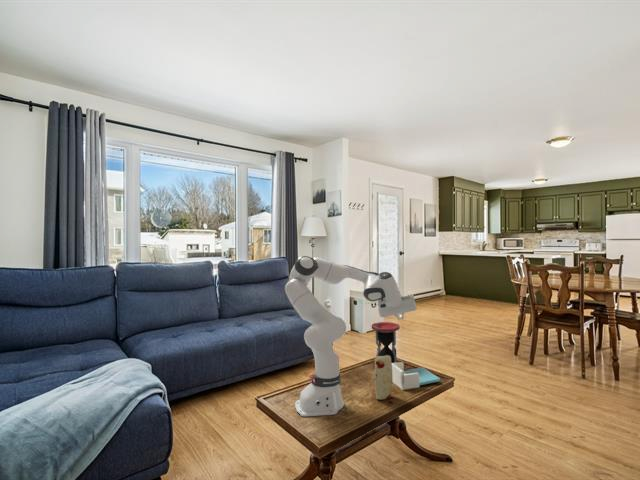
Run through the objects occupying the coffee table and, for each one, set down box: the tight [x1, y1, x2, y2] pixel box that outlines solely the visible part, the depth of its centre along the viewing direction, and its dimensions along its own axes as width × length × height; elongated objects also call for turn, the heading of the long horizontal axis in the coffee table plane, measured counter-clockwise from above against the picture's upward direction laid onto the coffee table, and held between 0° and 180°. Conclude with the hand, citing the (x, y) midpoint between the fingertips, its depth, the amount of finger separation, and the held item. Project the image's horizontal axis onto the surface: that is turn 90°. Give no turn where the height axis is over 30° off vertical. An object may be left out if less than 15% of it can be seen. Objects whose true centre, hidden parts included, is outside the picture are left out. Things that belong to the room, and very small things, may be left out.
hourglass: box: [371, 321, 400, 370], centre depth 194 cm, size 16×16×25 cm
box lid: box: [404, 366, 441, 386], centre depth 177 cm, size 2×17×12 cm
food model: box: [373, 355, 393, 400], centre depth 157 cm, size 10×7×20 cm
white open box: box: [392, 361, 420, 391], centre depth 174 cm, size 10×17×9 cm, turn 15°
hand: (401, 318), depth 181 cm, fingers closed
